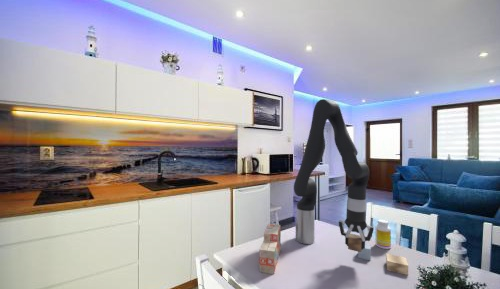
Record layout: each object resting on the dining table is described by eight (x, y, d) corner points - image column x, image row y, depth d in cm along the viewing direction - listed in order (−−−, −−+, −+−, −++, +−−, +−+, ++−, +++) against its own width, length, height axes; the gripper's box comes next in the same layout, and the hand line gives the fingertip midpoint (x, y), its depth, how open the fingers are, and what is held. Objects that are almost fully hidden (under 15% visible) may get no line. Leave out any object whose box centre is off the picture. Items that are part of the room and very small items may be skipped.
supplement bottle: (393, 250, 105) (393, 223, 105) (378, 248, 107) (378, 222, 107) (387, 244, 112) (387, 219, 112) (373, 242, 113) (373, 218, 113)
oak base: (387, 270, 89) (387, 260, 89) (386, 262, 95) (386, 253, 95) (408, 275, 85) (408, 265, 85) (405, 267, 91) (405, 257, 91)
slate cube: (358, 257, 98) (358, 246, 98) (358, 253, 103) (358, 242, 103) (370, 260, 96) (370, 249, 96) (370, 255, 100) (370, 244, 100)
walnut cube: (348, 249, 92) (348, 237, 92) (348, 244, 97) (349, 233, 97) (361, 252, 90) (361, 240, 90) (361, 247, 94) (361, 235, 94)
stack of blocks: (274, 274, 85) (274, 243, 85) (259, 272, 87) (259, 241, 87) (280, 249, 106) (280, 224, 106) (268, 247, 107) (268, 223, 108)
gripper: (337, 207, 93) (336, 246, 94) (375, 213, 86) (374, 255, 87) (339, 203, 100) (338, 239, 100) (375, 208, 93) (373, 247, 93)
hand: (354, 246), depth 93 cm, fingers closed on walnut cube, 5 cm apart
